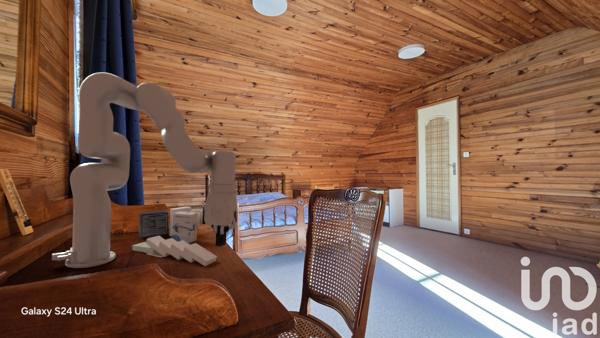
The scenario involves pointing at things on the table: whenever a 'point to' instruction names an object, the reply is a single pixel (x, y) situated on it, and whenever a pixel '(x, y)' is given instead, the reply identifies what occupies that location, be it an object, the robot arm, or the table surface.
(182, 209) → the base with upright slab
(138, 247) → the tile
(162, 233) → the small box
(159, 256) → the end pad
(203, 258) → the tile
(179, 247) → the tile
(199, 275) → the table surface
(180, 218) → the ink box
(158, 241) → the tile
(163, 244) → the tile
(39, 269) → the table surface
